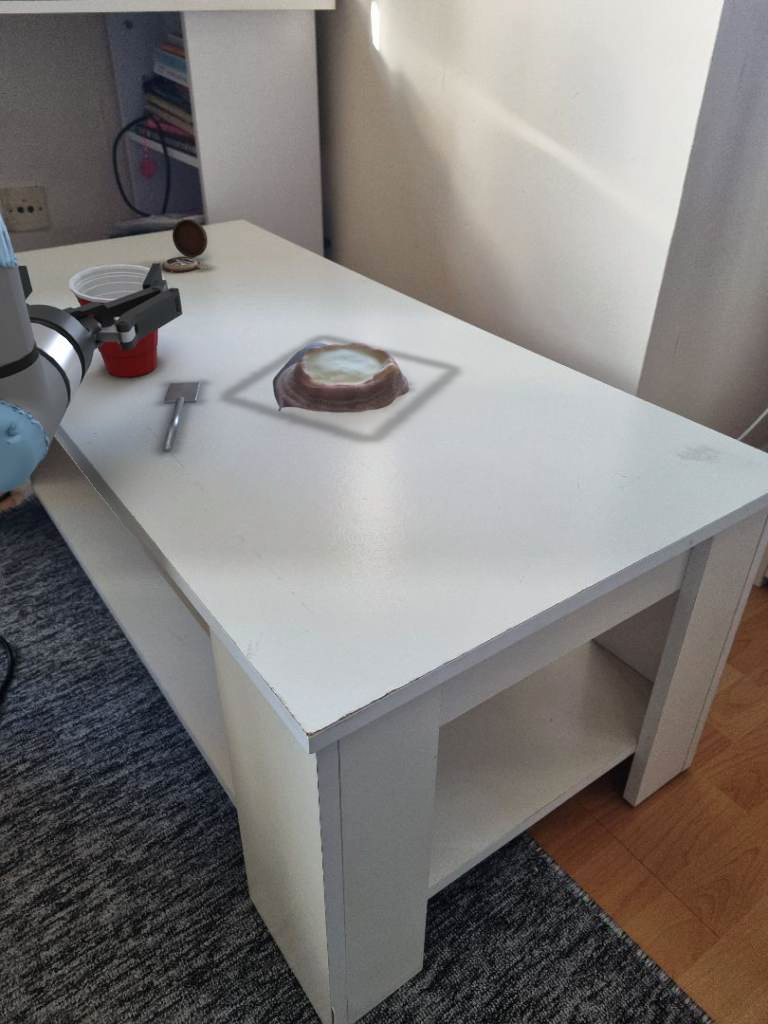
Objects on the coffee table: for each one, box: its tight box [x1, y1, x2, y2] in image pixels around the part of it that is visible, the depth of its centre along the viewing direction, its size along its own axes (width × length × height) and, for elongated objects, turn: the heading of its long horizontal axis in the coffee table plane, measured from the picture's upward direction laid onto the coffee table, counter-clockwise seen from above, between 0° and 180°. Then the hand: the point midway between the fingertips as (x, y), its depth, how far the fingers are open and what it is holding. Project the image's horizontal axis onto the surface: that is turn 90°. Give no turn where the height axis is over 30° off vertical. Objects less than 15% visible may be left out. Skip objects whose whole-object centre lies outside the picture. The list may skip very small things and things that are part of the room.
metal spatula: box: [161, 381, 201, 453], centre depth 90 cm, size 4×16×1 cm, turn 5°
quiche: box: [272, 342, 410, 414], centre depth 96 cm, size 21×20×4 cm
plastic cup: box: [68, 263, 165, 379], centre depth 97 cm, size 11×11×12 cm
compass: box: [161, 217, 210, 274], centre depth 132 cm, size 8×8×7 cm
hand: (92, 277), depth 84 cm, fingers open, 13 cm apart
